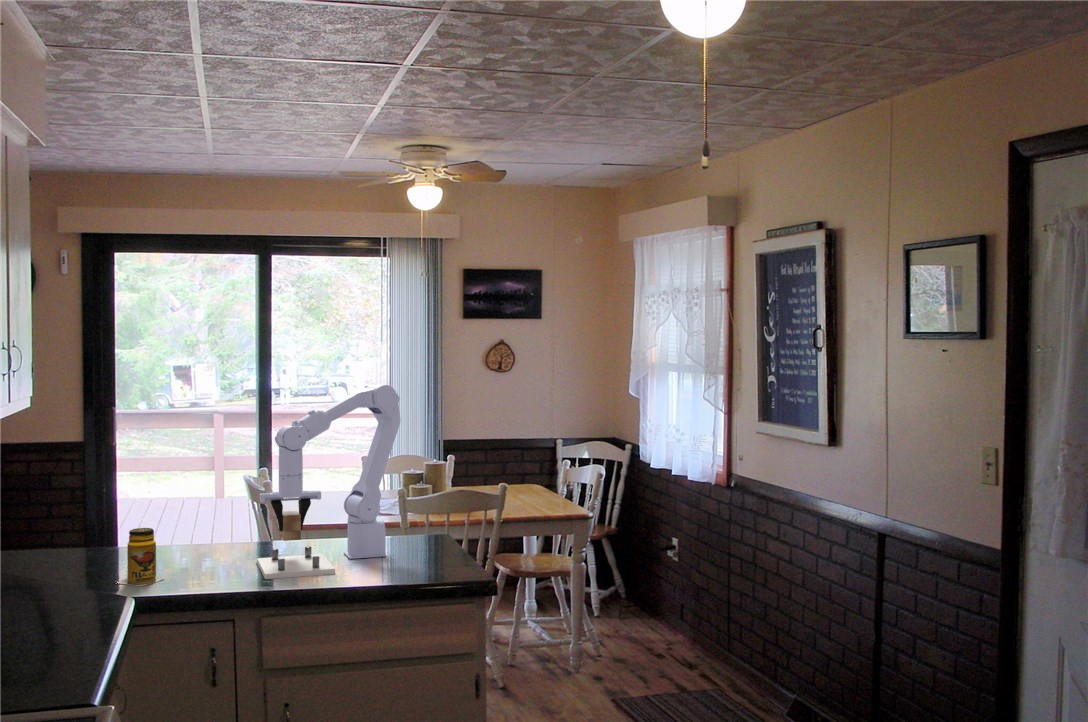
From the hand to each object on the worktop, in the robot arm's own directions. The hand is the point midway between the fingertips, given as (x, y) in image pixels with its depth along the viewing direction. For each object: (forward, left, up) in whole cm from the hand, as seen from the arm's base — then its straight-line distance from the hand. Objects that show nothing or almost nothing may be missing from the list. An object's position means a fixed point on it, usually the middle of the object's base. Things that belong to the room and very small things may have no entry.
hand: (290, 529), depth 250 cm
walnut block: (0, -1, -2) cm, 2 cm away
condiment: (+35, +6, -9) cm, 36 cm away
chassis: (0, +5, -8) cm, 10 cm away
